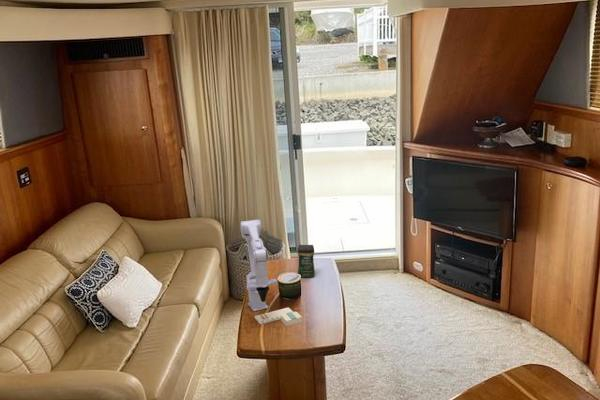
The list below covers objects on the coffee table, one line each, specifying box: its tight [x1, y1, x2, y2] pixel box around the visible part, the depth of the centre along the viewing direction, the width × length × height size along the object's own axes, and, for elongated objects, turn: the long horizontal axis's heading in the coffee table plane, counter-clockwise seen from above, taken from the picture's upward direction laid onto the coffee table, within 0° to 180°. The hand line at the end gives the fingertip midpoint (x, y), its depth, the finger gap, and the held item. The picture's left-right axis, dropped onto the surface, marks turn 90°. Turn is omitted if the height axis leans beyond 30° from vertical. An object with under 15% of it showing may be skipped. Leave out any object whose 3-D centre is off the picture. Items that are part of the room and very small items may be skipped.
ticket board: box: [254, 307, 294, 325], centre depth 236 cm, size 7×18×1 cm, turn 116°
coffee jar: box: [297, 244, 316, 279], centre depth 279 cm, size 10×8×19 cm
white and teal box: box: [280, 311, 303, 327], centre depth 231 cm, size 6×8×4 cm
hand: (262, 300), depth 230 cm, fingers closed
